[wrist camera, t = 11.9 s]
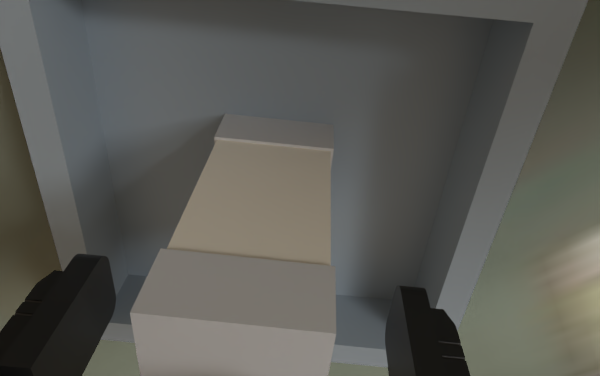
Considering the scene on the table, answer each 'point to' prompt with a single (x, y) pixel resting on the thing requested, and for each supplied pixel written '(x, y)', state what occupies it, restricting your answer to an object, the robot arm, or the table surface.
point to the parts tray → (297, 107)
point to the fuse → (247, 261)
